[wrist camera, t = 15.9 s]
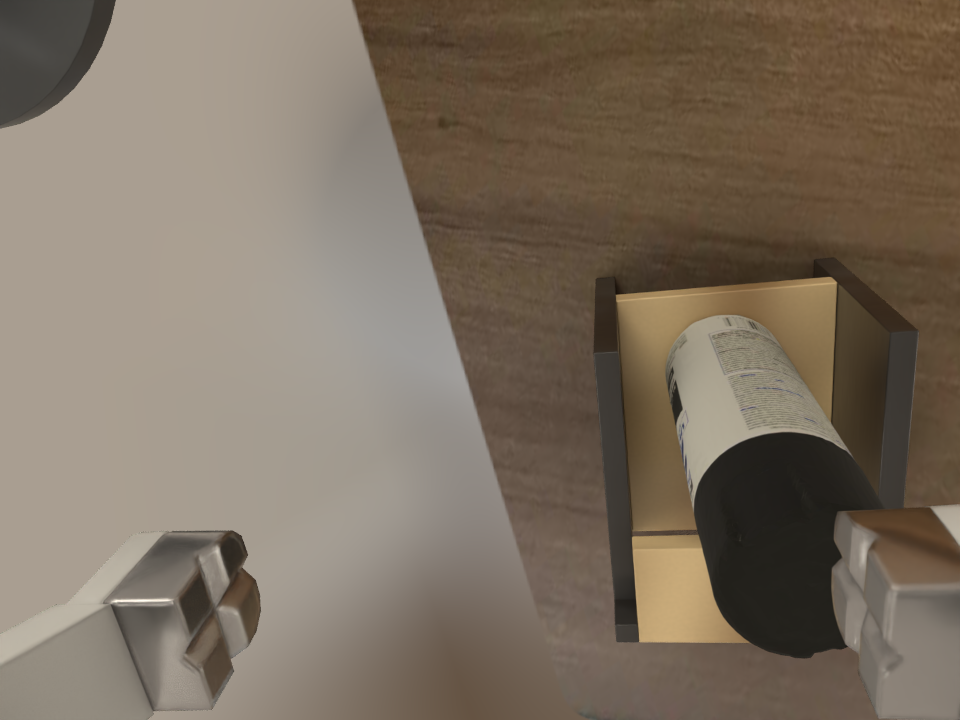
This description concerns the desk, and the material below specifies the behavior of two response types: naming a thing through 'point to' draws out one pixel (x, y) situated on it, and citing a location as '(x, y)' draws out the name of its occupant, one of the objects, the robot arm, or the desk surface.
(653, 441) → the shelf
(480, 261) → the desk surface
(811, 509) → the spray can
